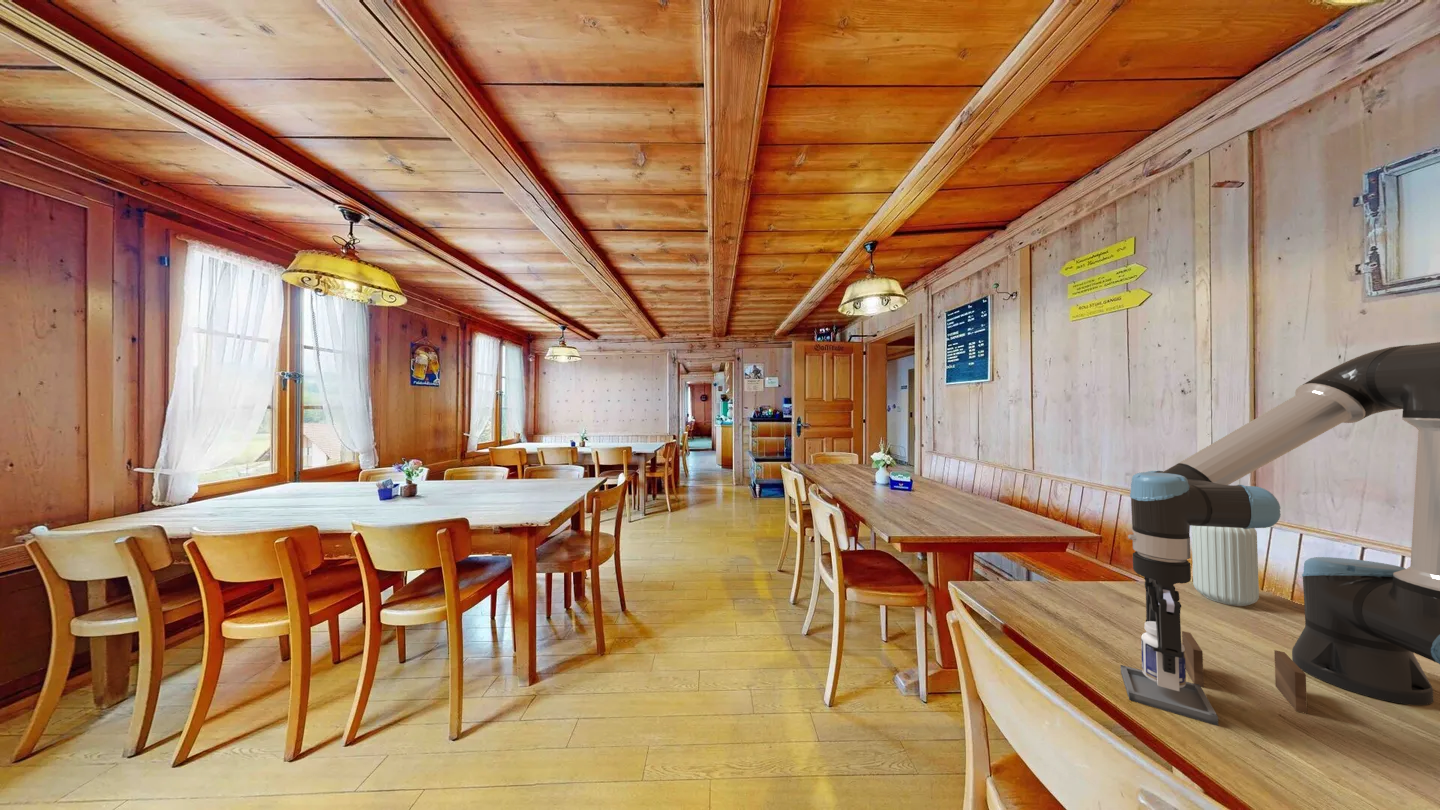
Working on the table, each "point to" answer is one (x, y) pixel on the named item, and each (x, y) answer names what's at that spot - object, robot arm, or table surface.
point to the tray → (1168, 696)
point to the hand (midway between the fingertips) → (1163, 677)
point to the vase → (1226, 564)
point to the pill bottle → (1149, 655)
